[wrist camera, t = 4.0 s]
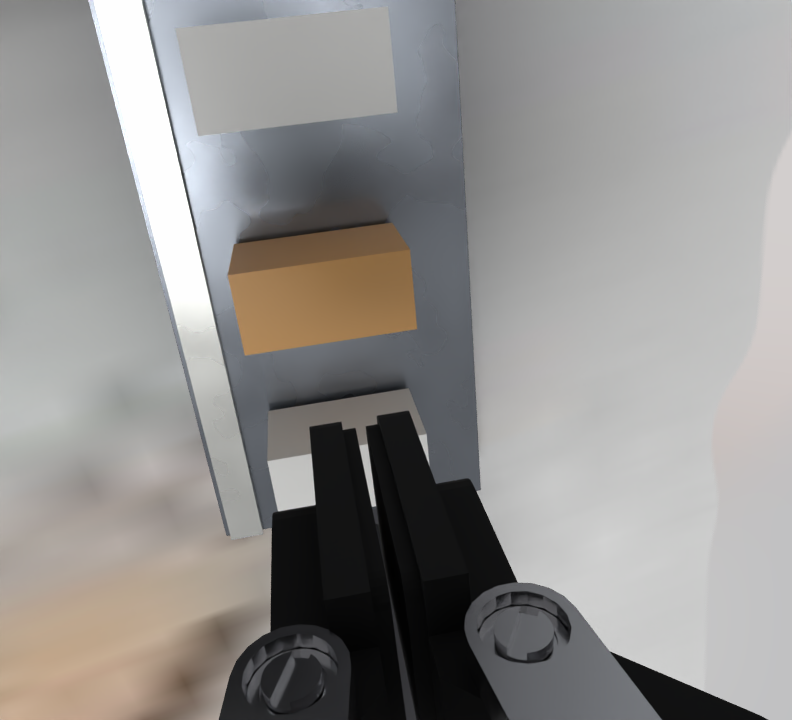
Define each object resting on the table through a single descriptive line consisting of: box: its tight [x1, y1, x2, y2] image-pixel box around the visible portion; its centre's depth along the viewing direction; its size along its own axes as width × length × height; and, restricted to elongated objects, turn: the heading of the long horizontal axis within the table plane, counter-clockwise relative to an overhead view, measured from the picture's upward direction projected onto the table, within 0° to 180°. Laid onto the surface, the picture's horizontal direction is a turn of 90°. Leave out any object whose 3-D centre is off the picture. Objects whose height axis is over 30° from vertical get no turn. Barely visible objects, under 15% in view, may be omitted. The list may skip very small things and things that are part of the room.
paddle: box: [175, 6, 398, 136], centre depth 18 cm, size 2×5×3 cm, turn 96°
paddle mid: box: [228, 223, 417, 356], centre depth 21 cm, size 2×5×3 cm, turn 96°
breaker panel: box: [88, 0, 481, 540], centre depth 23 cm, size 20×10×3 cm, turn 6°
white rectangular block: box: [267, 388, 429, 511], centre depth 23 cm, size 2×5×3 cm, turn 96°
